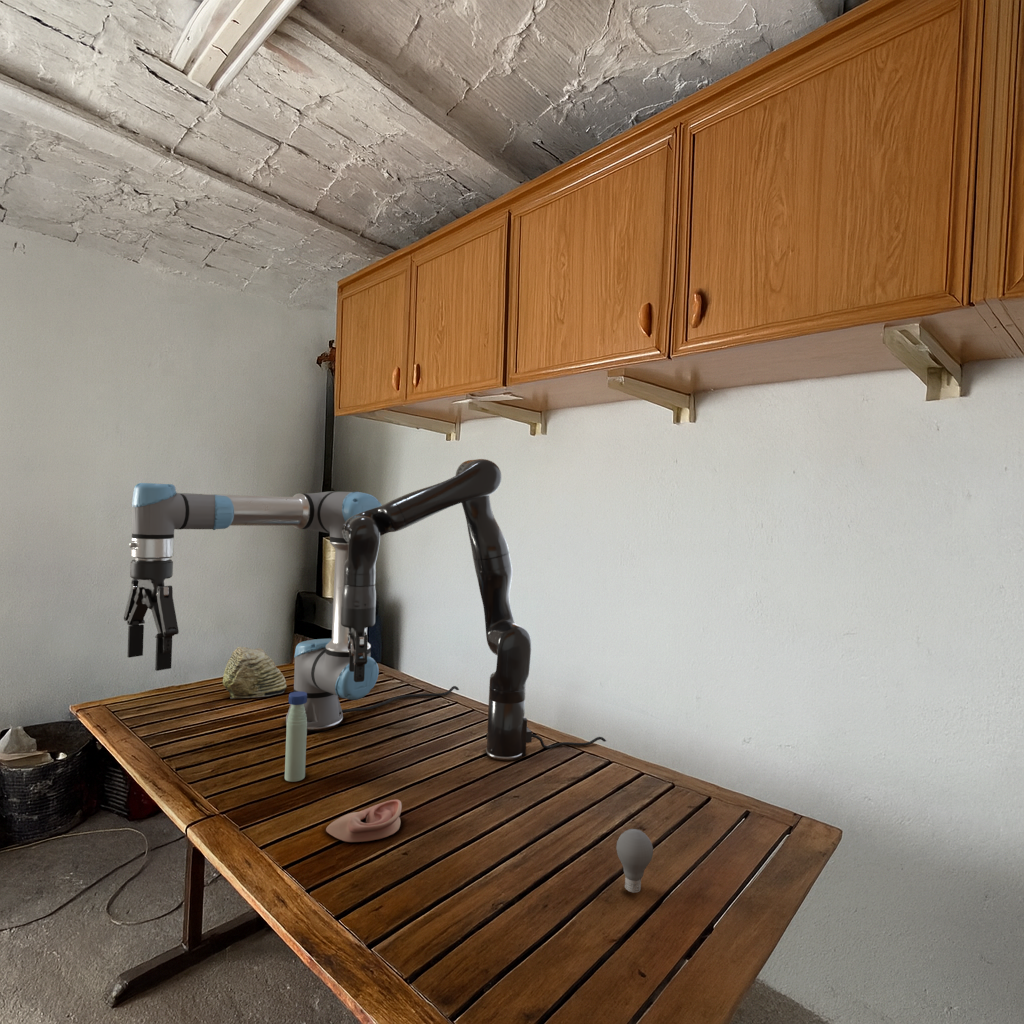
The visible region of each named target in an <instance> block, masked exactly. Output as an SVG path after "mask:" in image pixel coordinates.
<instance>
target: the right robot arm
mask: <svg viewBox="0 0 1024 1024" xmlns="http://www.w3.org/2000/svg"><path fill="white" fill-rule="evenodd" d="M501 483H502V472H501V469H500V467H499V466H498V465H497V464H496V463H495V462H494V461H492V460H490V459H485V458H477V459H469V460H465V461H463V462H462V463H460V464H459V465H458V467H457V469H456V472H455V476H453V477H451V478H448V479H446V480H444V481H441V482H438V483H436V484H433V485H429V486H426V487H423V488H420V489H416V490H414V491H412V492H408V493H406V494H404V495H401V496H399V497H396V498H393V499H392V500H390V501H388V502H386V503H384V504H381V505H382V506H380V507H377V508H373V509H370V510H367V511H364V512H361V513H359V514H356V515H354V516H352V517H350V518H349V519H347V520H346V522H345V523H344V525H343V527H342V535H343V537H344V539H345V540H346V541H347V542H348V543H349V549H348V559H347V560H346V561H345V564H344V574H343V590H342V602H341V625H342V626H344V627H347V628H348V629H349V633H348V650H349V651H348V653H349V655H350V654H351V655H350V657H349V670H350V672H354V681H355V682H363V681H364V674H365V664H367V662H368V660H367V643H369V642H368V640H369V636H368V634H367V631H366V632H365V628H366V629H367V628H372V627H374V626H375V625H376V612H377V611H376V609H377V591H376V575H377V573H376V572H377V571H376V570H377V568H376V565H377V564H376V563H377V560H378V554H379V550H380V545H381V544H380V543H381V537H382V536H384V535H386V534H390V533H395V532H399V531H402V530H404V529H406V528H410V527H411V526H412V525H415V524H417V523H419V522H421V521H424V520H426V519H427V518H430V517H432V516H433V515H436V514H438V513H440V512H442V511H444V510H447V509H449V508H452V507H454V506H456V505H459V504H461V507H462V509H463V512H464V516H465V521H466V527H467V532H468V533H467V534H468V537H469V543H470V547H471V548H470V549H471V554H472V560H473V565H474V570H475V574H476V575H475V576H476V579H477V583H478V588H479V593H480V598H481V601H482V606H483V614H484V624H485V625H484V627H485V636H486V644H487V646H488V648H489V650H490V651H491V652H492V653H493V654H494V655H495V656H496V667H495V671H494V672H492V673H491V674H490V675H489V684H488V685H489V686H488V709H487V731H486V733H485V734H486V735H485V738H486V748H485V753H486V756H488V757H489V758H491V759H494V760H497V761H515V760H519V759H521V758H522V757H526V756H527V744H528V743H532V740H533V738H534V739H537V740H538V741H539V742H540V745H541V747H542V748H544V749H546V750H549V749H554V748H557V747H561V746H575V747H576V746H577V747H587V746H590V745H592V744H594V743H595V742H597V741H600V740H601V741H602V742H604V743H605V742H607V740H606V739H605V738H604V737H603V736H596V737H595V738H593V739H592V740H590V741H587V742H572V741H571V742H570V741H562V742H557V743H554V744H552V745H546V744H545V743H544V740H543V739H542V738H541V737H540V736H539V735H537V734H534V733H533V731H532V730H531V729H530V728H529V727H528V717H526V716H525V713H526V711H525V709H526V708H525V707H526V689H527V688H526V687H527V681H528V679H529V675H530V670H531V662H532V661H531V660H532V638H531V634H530V632H529V630H527V629H526V628H524V627H523V626H521V625H520V624H516V622H515V619H514V616H513V611H512V607H511V606H512V605H511V600H510V595H511V589H512V588H511V587H512V580H513V564H512V559H511V554H510V548H509V545H508V542H507V540H506V537H505V535H504V533H503V531H502V530H501V527H500V525H499V524H498V522H497V520H496V518H495V515H494V513H493V508H492V504H491V498H490V496H491V495H492V494H494V493H495V492H497V490H498V489H499V488H500V486H501ZM360 655H362V656H363V658H360Z"/></svg>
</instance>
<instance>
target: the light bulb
mask: <svg viewBox="0 0 1024 1024" xmlns="http://www.w3.org/2000/svg"><path fill="white" fill-rule="evenodd" d="M615 849H616V854H617V857H618V859H619V861H620V863H621V865H622V867H623V873H624V874H623V875H624V876H625V878H624V888H625V890H627V891H628V892H630V893H634V894H635V893H639V892H640V891H641V889H642V887H641V886H642V879H643V877H644V875H645V871H646V868H647V867H648V866H649V864H650V863H651V861H652V859H653V855H654V847H653V843H652V841H651V838H649V836H648V835H647V834H646V833H645V832H643V831H642V830H641V829H636V828H629V829H627V830H625V831H623V832H622V833H621V834H620V835H619V837H618V839H617V841H616V847H615Z"/></svg>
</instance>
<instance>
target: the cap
mask: <svg viewBox="0 0 1024 1024" xmlns="http://www.w3.org/2000/svg"><path fill="white" fill-rule="evenodd" d="M306 702H307V693H306V692H302V691H298V692H294V691H292V692H290V693H289V694H288V704H289V705H290V704H291V705H301V704H305V703H306Z"/></svg>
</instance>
